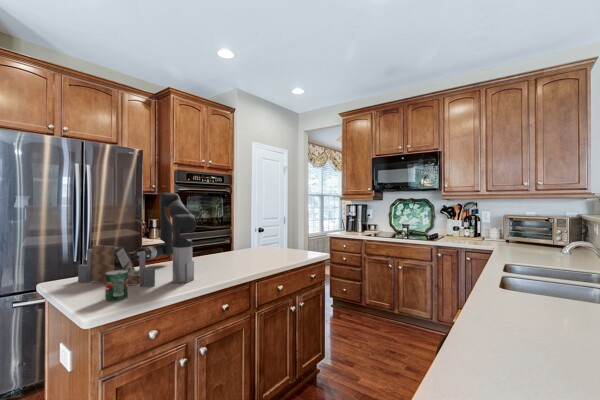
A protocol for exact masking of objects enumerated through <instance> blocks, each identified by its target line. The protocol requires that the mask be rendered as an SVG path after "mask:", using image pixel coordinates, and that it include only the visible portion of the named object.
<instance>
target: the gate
mask: <svg viewBox="0 0 600 400" xmlns="http://www.w3.org/2000/svg"><path fill="white" fill-rule="evenodd" d="M115 246H116V245H99V244H98V245H97V244H92V245H91V249H92V282H95V283H105V284H106V272H109V271H114V260H115ZM92 282H91V283H92ZM128 285H134V286H135V285H136V286H139V275H138V274H132V275H128Z"/></svg>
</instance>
